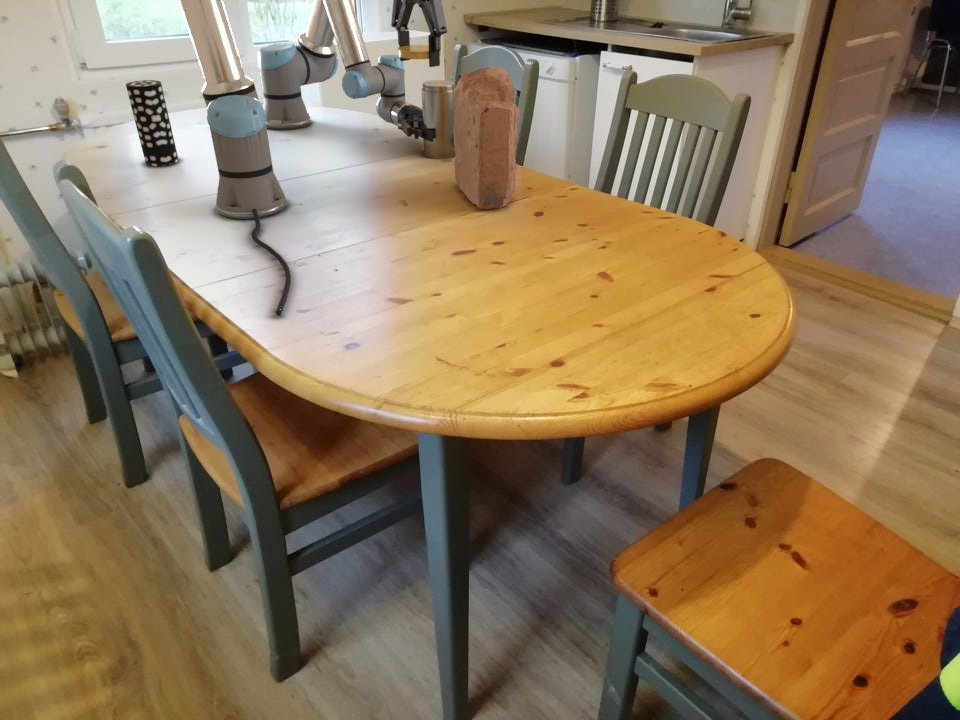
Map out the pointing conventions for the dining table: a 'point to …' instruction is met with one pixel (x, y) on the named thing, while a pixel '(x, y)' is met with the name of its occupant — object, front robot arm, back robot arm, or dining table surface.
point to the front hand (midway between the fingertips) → (419, 63)
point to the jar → (439, 117)
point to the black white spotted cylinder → (152, 122)
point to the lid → (414, 52)
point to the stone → (485, 137)
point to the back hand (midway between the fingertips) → (447, 134)
